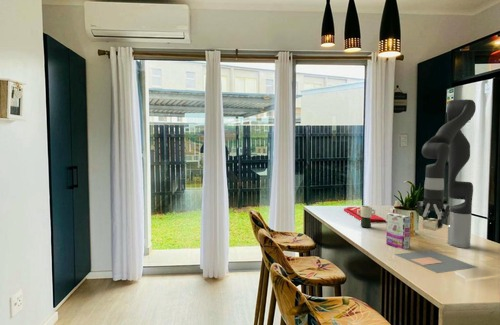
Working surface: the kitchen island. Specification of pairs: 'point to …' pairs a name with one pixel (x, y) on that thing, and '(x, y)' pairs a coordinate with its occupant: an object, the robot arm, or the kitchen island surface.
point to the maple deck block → (431, 224)
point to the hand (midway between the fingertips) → (432, 226)
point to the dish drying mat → (353, 212)
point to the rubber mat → (435, 261)
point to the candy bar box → (398, 230)
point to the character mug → (365, 215)
